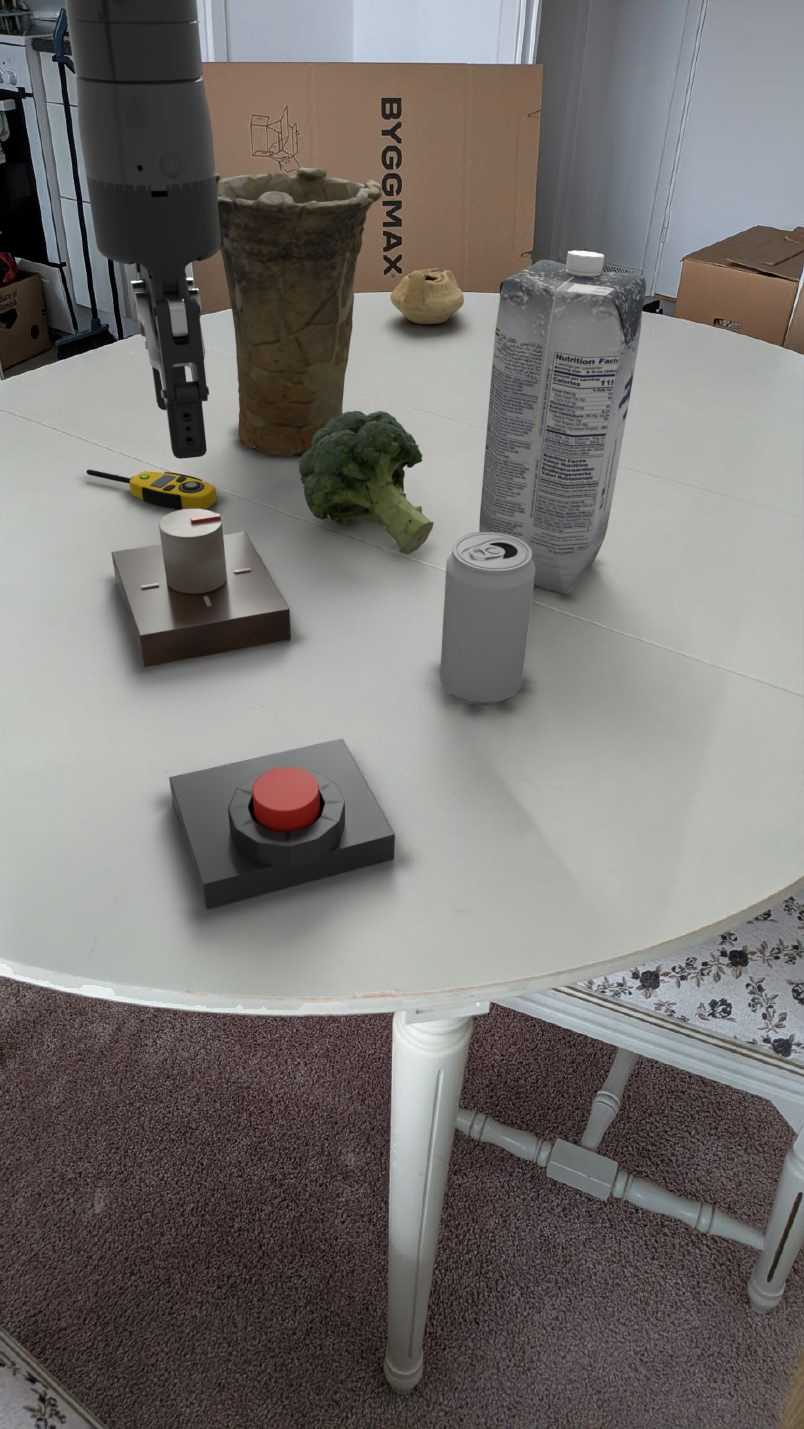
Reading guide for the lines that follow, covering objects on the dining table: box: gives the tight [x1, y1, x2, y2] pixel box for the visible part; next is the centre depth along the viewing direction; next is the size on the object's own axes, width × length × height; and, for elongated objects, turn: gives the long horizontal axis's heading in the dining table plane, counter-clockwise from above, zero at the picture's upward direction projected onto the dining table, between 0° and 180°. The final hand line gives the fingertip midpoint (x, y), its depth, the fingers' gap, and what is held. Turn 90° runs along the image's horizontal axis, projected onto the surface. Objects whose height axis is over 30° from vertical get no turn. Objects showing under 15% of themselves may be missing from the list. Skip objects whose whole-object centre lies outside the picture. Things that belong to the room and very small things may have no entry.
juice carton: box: [478, 250, 647, 595], centre depth 84 cm, size 9×10×27 cm
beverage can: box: [439, 531, 535, 706], centre depth 74 cm, size 6×6×12 cm
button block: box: [168, 738, 396, 910], centre depth 63 cm, size 12×10×4 cm
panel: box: [111, 531, 292, 668], centre depth 84 cm, size 12×14×3 cm
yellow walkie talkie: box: [86, 469, 217, 511], centre depth 102 cm, size 5×2×15 cm
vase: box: [215, 166, 383, 458], centre depth 107 cm, size 18×18×27 cm
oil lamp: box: [390, 267, 465, 325], centre depth 150 cm, size 11×15×8 cm
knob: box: [158, 509, 227, 594], centre depth 82 cm, size 5×5×6 cm
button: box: [252, 767, 320, 832], centre depth 60 cm, size 4×4×2 cm
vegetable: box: [298, 410, 435, 556], centre depth 95 cm, size 12×13×15 cm
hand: (181, 430), depth 69 cm, fingers open, 8 cm apart
